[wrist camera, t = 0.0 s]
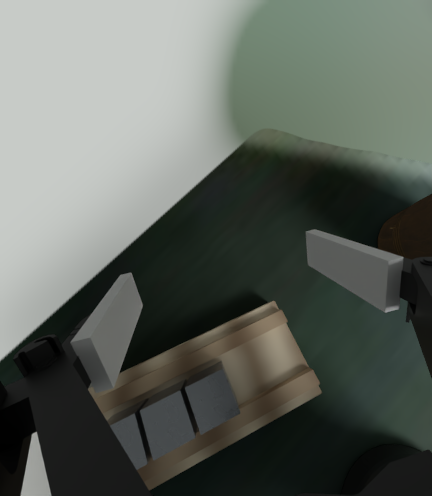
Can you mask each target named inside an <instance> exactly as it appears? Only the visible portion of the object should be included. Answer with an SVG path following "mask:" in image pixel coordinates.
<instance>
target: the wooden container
mask: <svg viewBox="0 0 432 496" xmlns="http://www.w3.org/2000/svg"><path fill="white" fill-rule="evenodd" d="M378 249H379V250H382V251H386V252H389V253H392V254H395V255H398V256H402V257H404V258H408V259H411V260H413V259H415V258H419V257H432V194H430V195H429V196H427V197H425V198H423V199H422V200H420V201H418V202H416V203H415V204H413V205H412V206H410V207H408V208H406V209H404V210H403V211H401V212H399V213H398V214H396V215H394V216H393V217H391V218H390V219H388V220H387V221H386V222H385V223H384V225H383V226H382V228H381V230H380V233H379V236H378Z"/></svg>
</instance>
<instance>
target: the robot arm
mask: <svg viewBox="0 0 432 496" xmlns="http://www.w3.org/2000/svg"><path fill="white" fill-rule="evenodd" d="M306 243H307V259H308V265H309V266H311V267H312V268H314V269H316V270H317V271H319V272H320V273H322V274H324V275H325V276H327V277H328V278H330V279H332V280H333V281H335V282H336V283H338V284H340V285H341V286H343V287H345V288H346V289H348V290H349V291H351V292H353V293H354V294H356V295H357V296H359V297H361V298H362V299H364V300H365V301H367V302H369V303H370V304H372V305H374V306H375V307H377V308H378V309H380V310H382V311H383V312H389V311H393V310H396V309H399V304H400V298H402V299H404V300H406V301H408V307H407V316H406V322H409V320H410V319H411V321H412V324H413V326H414V329H415V332H416V335H417V338H418V341H419V344H420V346H421V349H422V352H423V355H424V358H425V361H426V363H427V366H428V369H429V372H430V375H431V378H432V257H419V258H415V259H413V260H411V259H408V258H404V257H402V256H398V255H395V254H392V253H389V252H386V251H382V250H379V249H376V248H373V247H370V246H367V245H363V244H360V243H357V242H354V241H351V240H347V239H344V238H341V237H338V236H335V235H332V234H328V233H325V232H322V231H319V230H316V229H315V230H310V231H306ZM142 307H143V304H142V301H141V299H140V296H139V293H138V290H137V287H136V284H135V282H134V279H133V276H132V273H127V274H123V275H120V276H119V277H118V279H117V280H116V282H115V283H114V284H113V286H112V287H111V288H110V290H109V291H108V292H107V294H106V295H105V296H104V298H103V299H102V300H101V302H100V303H99V304H98V306H97V307H96V308H95V310H94V311H93V313H92V314H91V315H88V316H87V317H85V318H84V319H83V320H82V321H80V322H79V324H78V325H77V326H76V327H75V329H74V330H73V331H72V332H71V334H70V336H68V338H67V339H66V340H65V341H64V343H63V344H62V345H61V343H60V341H59V339H58V338H57V336H56V335H54V334H53V335H46V336H43V337H40V338H38V339H36V340H34V341H32V342H30V343H29V344H27V345H26V346H24V347H23V348H22V349H20V350H19V351H18V352H17V353H16V354H15V356H14V359H13V360H14V362H15V363H16V365H17V366H18V368H19V369H20V371H21V373H22V374H23V376H24V378H22V379H20V380H18V381H16V382H14V383H11V384H9V385H7V386H5V387H4V386H3V384H2V383H1V381H0V496H21V491H22V486H23V480H24V475H25V470H26V464H27V459H28V454H29V448H30V443H31V438H32V434H33V433H35V432H37V435H38V440H39V444H40V448H41V453H42V457H43V461H44V466H45V470H46V475H47V479H48V483H49V488H50V492H51V496H154V495H152V494H151V493H150V491H149V489H148V488H147V486H146V485H145V483H144V481H143V480H142V478H141V476H140V475H139V473H138V471H137V470H136V468H135V466H134V465H133V463H132V461H131V460H130V458H129V457H128V455H127V453H126V452H125V450H124V448H123V447H122V445H121V443H120V442H119V440H118V438H117V437H116V435H115V433H114V432H113V430H112V428H111V427H110V425H109V424H108V422H107V420H106V419H105V417H104V415H103V414H102V412H101V410H100V409H99V407H98V405H97V404H96V402H95V400H94V399H93V397H92V395H91V394H90V392H89V391H88V388H89V386H90V384H92V386H93V388H94V390H95V392H96V393H98V392H102V391H105V390H109V389H113V388H114V386H115V383H116V380H117V378H118V375H119V372H120V369H121V366H122V364H123V361H124V358H125V355H126V352H127V349H128V347H129V344H130V341H131V338H132V335H133V333H134V330H135V327H136V324H137V321H138V318H139V316H140V313H141V310H142ZM296 496H432V453H431V451H430V450H426V451H423V452H421V451H419V450H416V449H414V448H411V447H408V446H403V445H394V444H391V445H383V446H379V447H376V448H373V449H371V450H369V451H368V452H366V453H365V454H364V455H362V456H361V457H360V458H359V459H358V460H357V461H356V463H355V464H354V465H353V467H352V468H351V470H350V471H349V473H348V475H347V477H346V480H345V483H344V486H343V489H342V493H341V495H336V494H316V493H301V494H298V495H296Z"/></svg>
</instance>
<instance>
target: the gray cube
mask: <svg viewBox="0 0 432 496" xmlns="http://www.w3.org/2000/svg"><path fill="white" fill-rule="evenodd" d="M185 390H186V392H187V395H188V398H189V401H190V404H191V407H192V410H193V413H194V416H195V419H196V422H197V425H198V428H199V431H200V434H201V435H202V434H204V433H205V432H207V431H209V430H211V429H213V428H215V427H216V426H218V425H220V424H222V423H224V422H226V421H227V420H229V419H231V418H233V417H235V416H237V415H238V414H240V409H239V406H238V402H237V398H236V395H235V393H234V391H233V388H232V386H231V383H230V381H229V378H228V376H227V373H226V371H225V368H224V366H223V363H222V361H220V362H218V363H216V364H214V365H212V366H210V367H208V368H206V369H204V370H202V371H200V372H198V373H196V374H194V375H192V376H190V377H189V380H188V382H187V384H186V386H185Z"/></svg>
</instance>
